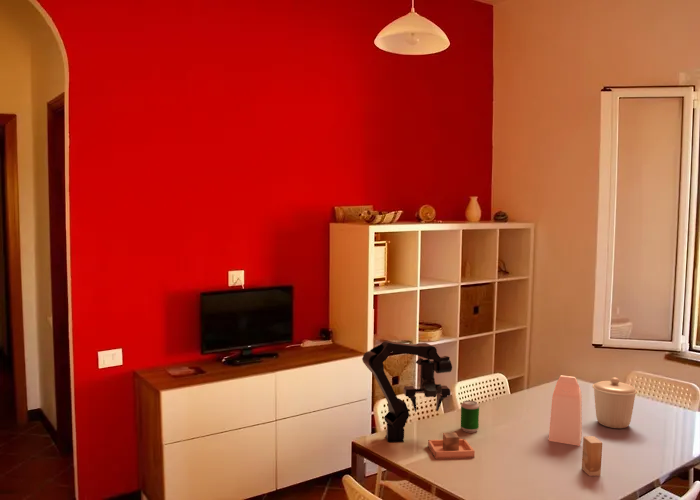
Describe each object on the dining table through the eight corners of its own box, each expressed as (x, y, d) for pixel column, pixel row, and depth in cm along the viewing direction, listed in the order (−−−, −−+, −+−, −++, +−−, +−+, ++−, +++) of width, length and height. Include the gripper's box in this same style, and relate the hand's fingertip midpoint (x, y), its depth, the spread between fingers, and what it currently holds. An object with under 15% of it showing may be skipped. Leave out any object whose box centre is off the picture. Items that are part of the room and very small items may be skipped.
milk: (581, 436, 249) (584, 375, 247) (579, 445, 238) (582, 382, 237) (551, 431, 254) (553, 371, 252) (548, 440, 244) (550, 378, 242)
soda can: (478, 434, 250) (479, 406, 249) (460, 432, 251) (461, 404, 250) (478, 427, 257) (479, 400, 256) (460, 426, 258) (461, 399, 258)
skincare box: (581, 468, 217) (582, 435, 216) (592, 468, 217) (593, 435, 216) (589, 476, 210) (591, 442, 210) (601, 476, 211) (602, 442, 210)
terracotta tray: (435, 458, 224) (435, 452, 224) (428, 446, 236) (428, 440, 236) (474, 457, 225) (474, 451, 225) (464, 445, 237) (465, 439, 237)
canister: (590, 428, 258) (592, 380, 257) (591, 415, 275) (592, 370, 274) (637, 434, 252) (639, 385, 250) (634, 420, 268) (636, 374, 267)
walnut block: (445, 452, 228) (446, 437, 227) (442, 447, 233) (442, 432, 232) (458, 452, 228) (459, 437, 228) (455, 447, 233) (455, 432, 233)
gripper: (409, 380, 237) (408, 418, 238) (454, 379, 239) (453, 417, 240) (403, 372, 248) (402, 409, 249) (447, 371, 250) (446, 408, 251)
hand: (426, 411), depth 247 cm, fingers open, 9 cm apart
